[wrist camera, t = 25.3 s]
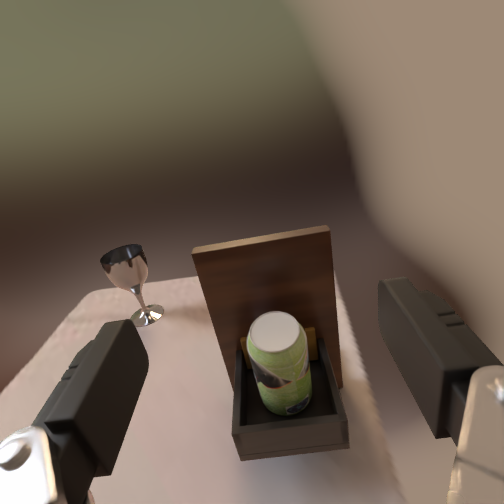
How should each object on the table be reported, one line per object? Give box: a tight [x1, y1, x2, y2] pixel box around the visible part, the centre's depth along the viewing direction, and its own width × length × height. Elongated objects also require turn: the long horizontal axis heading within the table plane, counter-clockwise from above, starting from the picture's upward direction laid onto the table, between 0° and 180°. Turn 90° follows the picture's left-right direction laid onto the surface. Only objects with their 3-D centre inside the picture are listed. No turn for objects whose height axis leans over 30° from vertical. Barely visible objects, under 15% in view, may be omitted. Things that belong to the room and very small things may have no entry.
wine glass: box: [100, 244, 164, 326], centre depth 65 cm, size 8×8×15 cm
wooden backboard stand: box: [191, 225, 350, 461], centre depth 38 cm, size 19×15×24 cm
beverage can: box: [246, 311, 312, 416], centre depth 35 cm, size 6×7×12 cm
